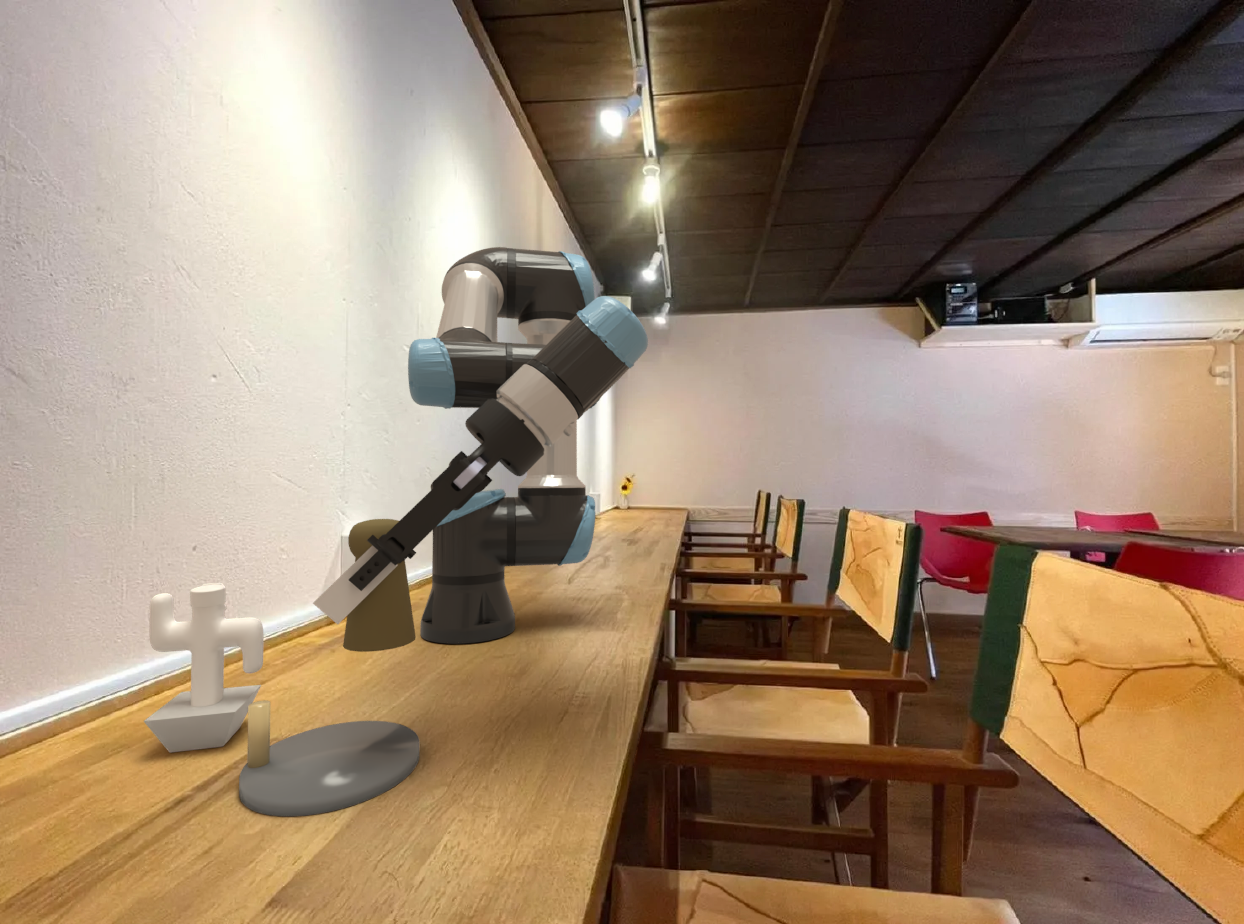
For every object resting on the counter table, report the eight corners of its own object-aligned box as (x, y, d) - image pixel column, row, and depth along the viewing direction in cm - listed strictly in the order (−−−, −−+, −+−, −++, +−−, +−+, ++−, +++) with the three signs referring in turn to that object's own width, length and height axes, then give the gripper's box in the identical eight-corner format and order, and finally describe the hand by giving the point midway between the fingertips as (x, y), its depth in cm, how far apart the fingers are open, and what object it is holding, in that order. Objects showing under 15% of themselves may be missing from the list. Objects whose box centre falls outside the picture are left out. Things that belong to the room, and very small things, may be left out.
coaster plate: (312, 729, 58) (313, 668, 58) (444, 736, 56) (445, 672, 56) (194, 810, 44) (195, 728, 44) (366, 822, 42) (366, 737, 42)
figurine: (248, 749, 53) (250, 589, 54) (128, 763, 51) (131, 595, 51) (272, 718, 60) (274, 576, 61) (168, 729, 58) (170, 581, 58)
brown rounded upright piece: (391, 653, 48) (391, 522, 48) (327, 650, 49) (327, 522, 49) (428, 633, 54) (427, 517, 54) (370, 631, 55) (370, 517, 55)
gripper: (563, 445, 47) (346, 665, 42) (536, 454, 65) (380, 610, 60) (497, 379, 46) (265, 598, 41) (488, 406, 63) (325, 562, 58)
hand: (334, 605), depth 50 cm, fingers closed on brown rounded upright piece, 5 cm apart
